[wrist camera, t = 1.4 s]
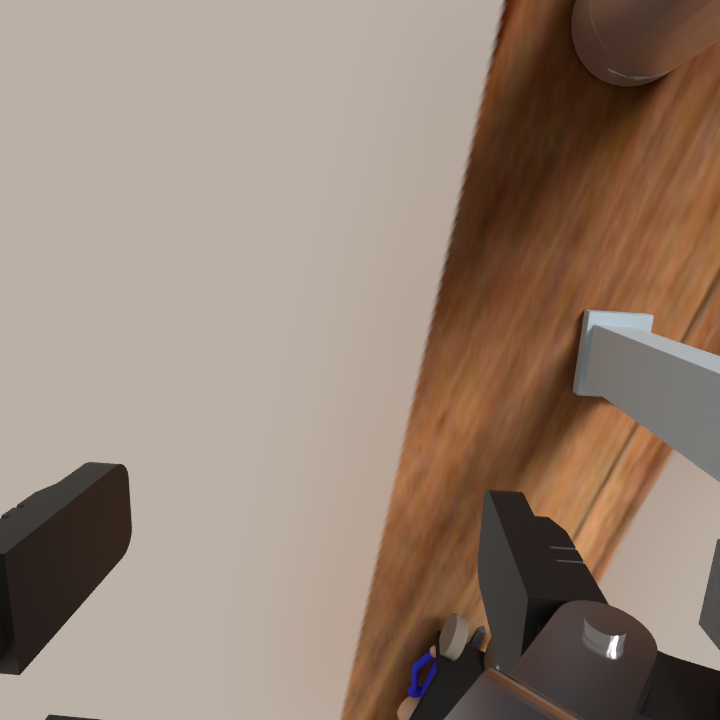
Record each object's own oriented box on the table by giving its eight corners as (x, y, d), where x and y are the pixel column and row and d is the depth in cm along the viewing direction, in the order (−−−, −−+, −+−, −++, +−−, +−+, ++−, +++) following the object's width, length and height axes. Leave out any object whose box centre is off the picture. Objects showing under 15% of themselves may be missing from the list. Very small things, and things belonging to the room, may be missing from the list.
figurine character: (442, 582, 51) (378, 711, 53) (454, 631, 43) (379, 780, 45) (505, 609, 51) (439, 737, 53) (528, 663, 44) (451, 811, 45)
